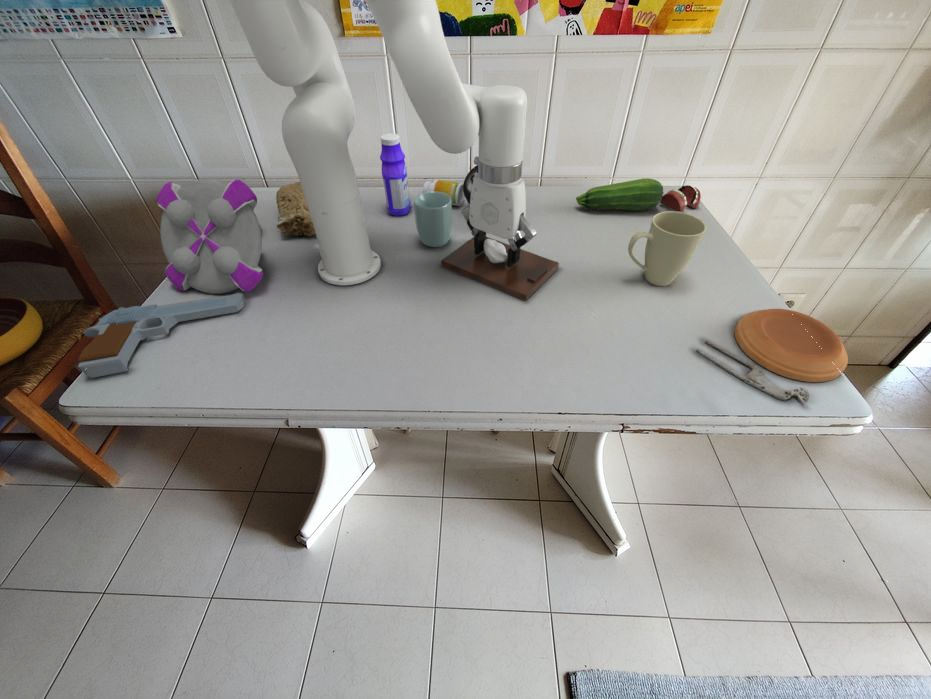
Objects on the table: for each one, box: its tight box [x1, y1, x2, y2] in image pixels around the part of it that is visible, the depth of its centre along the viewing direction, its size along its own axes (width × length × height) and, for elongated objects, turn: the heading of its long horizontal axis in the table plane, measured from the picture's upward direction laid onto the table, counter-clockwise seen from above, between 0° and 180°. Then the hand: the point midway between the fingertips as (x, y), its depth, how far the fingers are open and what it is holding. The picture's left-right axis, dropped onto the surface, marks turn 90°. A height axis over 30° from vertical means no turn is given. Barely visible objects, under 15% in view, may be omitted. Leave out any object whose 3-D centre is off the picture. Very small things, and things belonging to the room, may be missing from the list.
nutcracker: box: [695, 340, 811, 406], centre depth 65 cm, size 16×1×5 cm
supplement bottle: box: [422, 179, 465, 207], centre depth 106 cm, size 5×5×10 cm
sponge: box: [275, 181, 316, 237], centre depth 100 cm, size 13×8×20 cm
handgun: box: [77, 292, 245, 379], centre depth 72 cm, size 4×25×15 cm
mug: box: [627, 210, 707, 287], centre depth 79 cm, size 11×10×12 cm
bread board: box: [441, 236, 560, 302], centre depth 86 cm, size 20×13×2 cm, turn 54°
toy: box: [156, 179, 264, 295], centre depth 83 cm, size 25×25×15 cm
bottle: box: [379, 132, 412, 216], centre depth 99 cm, size 7×6×17 cm
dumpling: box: [484, 238, 507, 263], centre depth 85 cm, size 7×5×4 cm
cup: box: [413, 191, 453, 248], centre depth 90 cm, size 8×8×10 cm
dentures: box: [659, 184, 702, 213], centre depth 103 cm, size 6×5×9 cm
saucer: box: [734, 308, 849, 383], centre depth 69 cm, size 16×16×3 cm
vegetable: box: [575, 178, 665, 212], centre depth 101 cm, size 7×7×20 cm
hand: (496, 257), depth 86 cm, fingers open, 7 cm apart
